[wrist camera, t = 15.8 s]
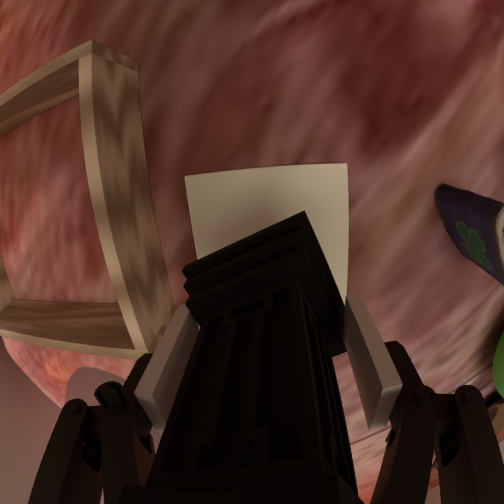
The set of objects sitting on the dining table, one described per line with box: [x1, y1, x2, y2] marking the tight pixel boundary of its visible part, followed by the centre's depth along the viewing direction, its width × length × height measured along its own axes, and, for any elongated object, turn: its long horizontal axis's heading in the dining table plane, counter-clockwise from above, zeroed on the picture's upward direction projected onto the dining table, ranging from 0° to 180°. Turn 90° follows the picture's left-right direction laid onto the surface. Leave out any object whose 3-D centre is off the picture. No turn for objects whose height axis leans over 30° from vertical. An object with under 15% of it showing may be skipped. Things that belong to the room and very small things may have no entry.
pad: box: [185, 163, 349, 305], centre depth 26 cm, size 14×14×1 cm
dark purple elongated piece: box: [434, 183, 504, 286], centre depth 19 cm, size 10×3×12 cm, turn 44°
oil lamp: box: [431, 398, 504, 469], centre depth 34 cm, size 22×30×8 cm
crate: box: [0, 40, 176, 360], centre depth 23 cm, size 26×30×8 cm
